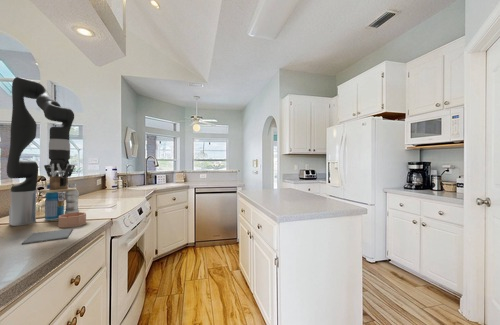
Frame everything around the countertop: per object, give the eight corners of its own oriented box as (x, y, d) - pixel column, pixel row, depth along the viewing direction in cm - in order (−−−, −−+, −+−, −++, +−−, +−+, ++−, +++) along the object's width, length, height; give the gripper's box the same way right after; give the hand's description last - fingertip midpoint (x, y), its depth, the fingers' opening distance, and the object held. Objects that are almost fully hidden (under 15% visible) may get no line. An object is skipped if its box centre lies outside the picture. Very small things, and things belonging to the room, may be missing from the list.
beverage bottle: (44, 221, 119) (45, 185, 119) (44, 218, 124) (44, 183, 124) (65, 218, 125) (65, 184, 125) (63, 216, 130) (63, 183, 130)
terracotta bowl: (52, 226, 109) (52, 216, 109) (72, 221, 120) (72, 212, 120) (72, 227, 108) (72, 217, 108) (90, 221, 119) (91, 212, 119)
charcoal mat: (21, 244, 86) (21, 243, 86) (32, 234, 98) (32, 233, 98) (67, 238, 93) (67, 237, 93) (72, 229, 105) (72, 228, 105)
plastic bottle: (73, 219, 122) (73, 184, 122) (61, 219, 122) (61, 184, 122) (82, 217, 129) (82, 183, 129) (70, 216, 129) (71, 183, 129)
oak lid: (30, 192, 95) (31, 177, 95) (59, 189, 108) (59, 175, 108) (58, 192, 94) (58, 177, 94) (83, 189, 107) (83, 175, 107)
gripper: (37, 148, 98) (37, 186, 98) (66, 148, 97) (65, 187, 97) (53, 150, 106) (53, 185, 106) (80, 149, 105) (80, 185, 104)
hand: (59, 185), depth 101 cm, fingers closed on oak lid, 3 cm apart
